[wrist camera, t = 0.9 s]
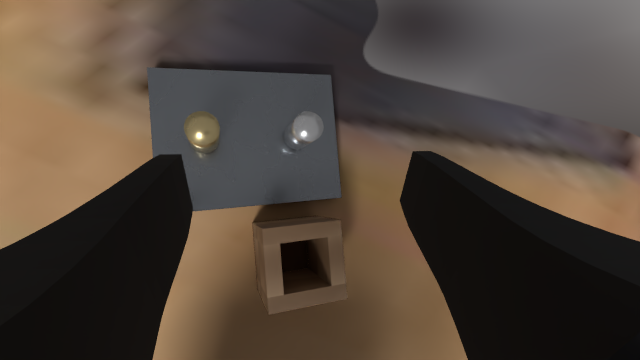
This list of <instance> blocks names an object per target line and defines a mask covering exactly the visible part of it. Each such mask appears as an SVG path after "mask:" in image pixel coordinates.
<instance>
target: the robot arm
mask: <svg viewBox="0 0 640 360" xmlns="http://www.w3.org/2000/svg"><path fill="white" fill-rule="evenodd" d="M400 203H401V206H402V209H403V212H404V215H405V218H406V221H407V223H408V226H409V228H410V230H411V232H412V234H413V236H414V238H415V240H416V242H417V244H418V246H419V248H420V250H421V252H422V253H423V255H424V257H425V259H426V261H427V263H428V265H429V267H430V269H431V271H432V272H433V274H434V276H435V278H436V280H437V282H438V284H439V286H440V288H441V290H442V293H443V295H444V297H445V300H446V302H447V305H448V307H449V310H450V312H451V315H452V317H453V320H454V322H455V325H456V328H457V330H458V333H459V336H460V339H461V342H462V344H463V347H464V350H465V353H466V355H467V358H468V360H640V242H639V241H636V240H632V239H629V238H626V237H623V236H620V235H616V234H613V233H610V232H608V231H605V230H602V229H599V228H596V227H593V226H590V225H587V224H584V223H582V222H579V221H576V220H574V219H571V218H568V217H566V216H563V215H561V214H558V213H556V212H554V211H551V210H549V209H546V208H544V207H541V206H539V205H537V204H535V203H532V202H530V201H528V200H526V199H524V198H521V197H519V196H517V195H515V194H513V193H511V192H509V191H507V190H505V189H503V188H501V187H499V186H497V185H495V184H493V183H491V182H490V181H488V180H486V179H484V178H482V177H480V176H478V175H476V174H475V173H473V172H471V171H469V170H467V169H465V168H464V167H462V166H460V165H458V164H456V163H454V162H452V161H451V160H449V159H447V158H445V157H443V156H441V155H438V154H436V153H434V152H431V151H413V152H412V156H411V160H410V164H409V168H408V171H407V175H406V179H405V183H404V187H403V190H402V194H401V198H400ZM192 211H193V206H192V201H191V196H190V192H189V187H188V183H187V178H186V173H185V169H184V164H183V160H182V155H181V154H159V155H158V156H156V157H154V158H152V159H151V160H149V161H148V162H146V163H145V164H143V165H142V166H140V167H139V168H138V169H136V170H135V171H133V172H132V173H130V174H129V175H128V176H126V177H125V178H123V179H122V180H120V181H119V182H117V183H116V184H114V185H113V186H112V187H110V188H109V189H107V190H106V191H104V192H102V193H101V194H99V195H98V196H96V197H95V198H93V199H91V200H90V201H88V202H87V203H85V204H83V205H82V206H80V207H79V208H77V209H75V210H74V211H72V212H71V213H69V214H67V215H66V216H64V217H62V218H60V219H59V220H57V221H55V222H53V223H51V224H50V225H48V226H46V227H44V228H42V229H40V230H38V231H36V232H35V233H33V234H31V235H29V236H27V237H25V238H23V239H21V240H19V241H17V242H15V243H13V244H11V245H9V246H7V247H5V248H2V249H0V360H152V359H153V354H154V350H155V345H156V341H157V336H158V331H159V327H160V322H161V318H162V315H163V311H164V308H165V304H166V301H167V298H168V295H169V292H170V289H171V286H172V283H173V280H174V277H175V274H176V271H177V268H178V266H179V263H180V260H181V257H182V254H183V250H184V247H185V244H186V241H187V238H188V234H189V229H190V224H191V218H192Z"/></svg>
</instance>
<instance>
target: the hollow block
mask: <svg viewBox="0 0 640 360" xmlns="http://www.w3.org/2000/svg"><path fill="white" fill-rule="evenodd" d="M252 224H253V237H254V250H255V264H256V277H257V290H258V292H259V294H260V296H261V299H262V301H263V303H264V305H265V308H266V310H267V312H268V314H269V315H271V314H276V313H281V312H286V311H290V310H295V309H300V308H305V307H310V306H315V305H320V304H325V303H329V302H334V301H339V300H344V299H348V298H347V286H346V275H345V263H344V252H343V240H342V228H341V220H339V219H332V218H326V217H320V216H309V217H300V218H291V219H281V220H272V221H263V222H254V223H252ZM302 240H306V251H307V263H308V268H305V269H299V270H292V271H286V272H282V264H281V251H280V243H288V242H295V241H302Z"/></svg>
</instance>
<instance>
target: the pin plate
mask: <svg viewBox="0 0 640 360" xmlns="http://www.w3.org/2000/svg"><path fill="white" fill-rule="evenodd" d="M147 72H148V88H149V103H150V119H151V134H152V149H153V158H154V157H156V156H158V155H159V154H181V155H182V160H183V164H184V169H185V173H186V178H187V183H188V187H189V192H190V196H191V201H192V206H193V211H202V210H212V209H223V208H234V207H245V206H255V205H266V204H277V203H288V202H298V201H309V200H320V199H331V198H341V187H340V175H339V164H338V152H337V141H336V129H335V118H334V106H333V94H332V83H331V75H320V74H296V73H271V72H246V71H222V70H197V69H172V68H148V67H147Z"/></svg>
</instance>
